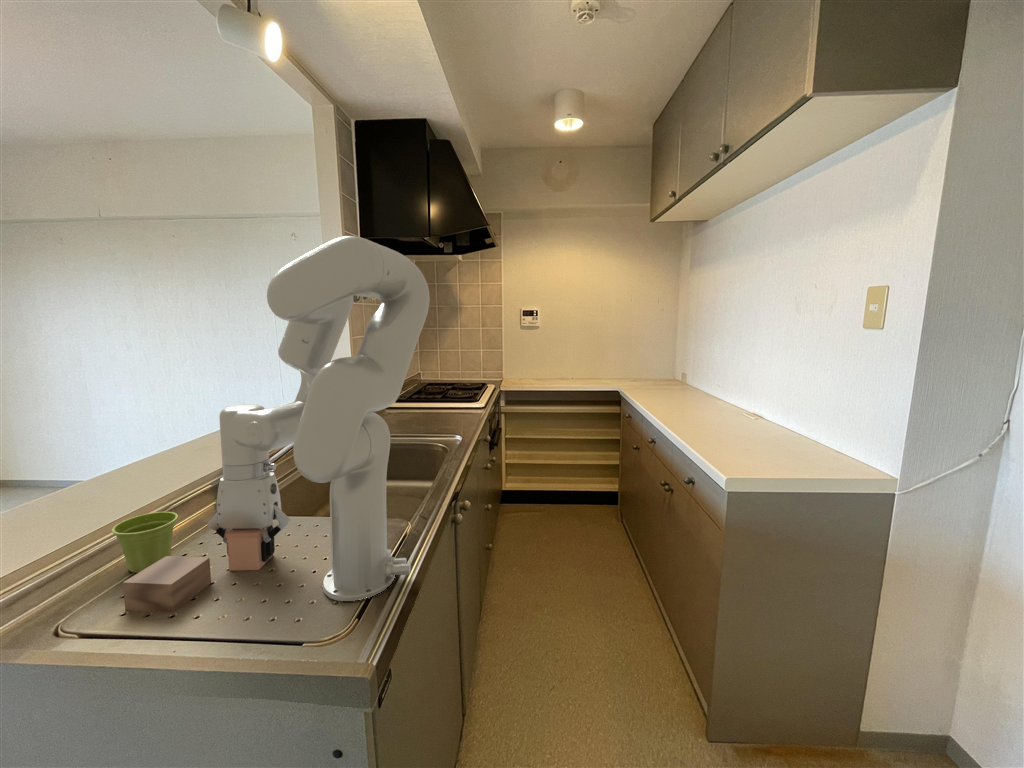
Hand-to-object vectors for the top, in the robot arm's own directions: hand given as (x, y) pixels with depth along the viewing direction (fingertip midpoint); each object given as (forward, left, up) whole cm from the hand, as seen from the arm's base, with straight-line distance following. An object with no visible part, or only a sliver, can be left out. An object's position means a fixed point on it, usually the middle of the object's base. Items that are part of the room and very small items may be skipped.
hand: (251, 557), depth 81 cm
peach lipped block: (0, 0, -1) cm, 1 cm away
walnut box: (+8, +10, -1) cm, 13 cm away
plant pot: (+19, 0, -1) cm, 19 cm away
